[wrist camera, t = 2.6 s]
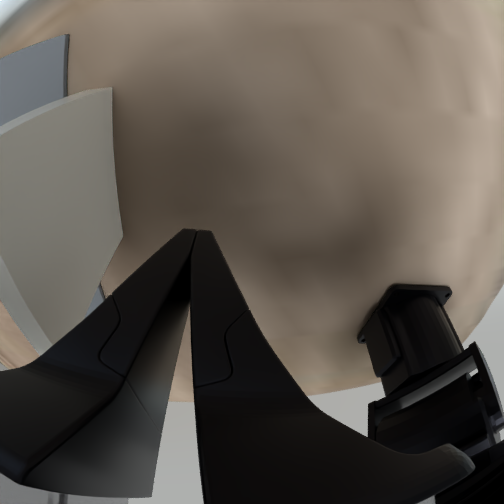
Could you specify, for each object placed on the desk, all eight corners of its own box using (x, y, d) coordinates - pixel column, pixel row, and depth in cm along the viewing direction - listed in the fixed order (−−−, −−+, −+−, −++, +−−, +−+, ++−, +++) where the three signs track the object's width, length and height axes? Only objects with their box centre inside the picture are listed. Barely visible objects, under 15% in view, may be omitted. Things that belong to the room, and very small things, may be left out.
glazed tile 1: (112, 87, 9) (-31, 155, 3) (123, 235, 14) (67, 364, 8) (75, 91, 9) (-63, 164, 3) (93, 232, 14) (29, 352, 8)
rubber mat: (69, 34, 7) (65, 34, 7) (132, 366, 24) (132, 368, 24) (-31, 75, 6) (-34, 76, 6) (61, 349, 23) (61, 352, 23)
